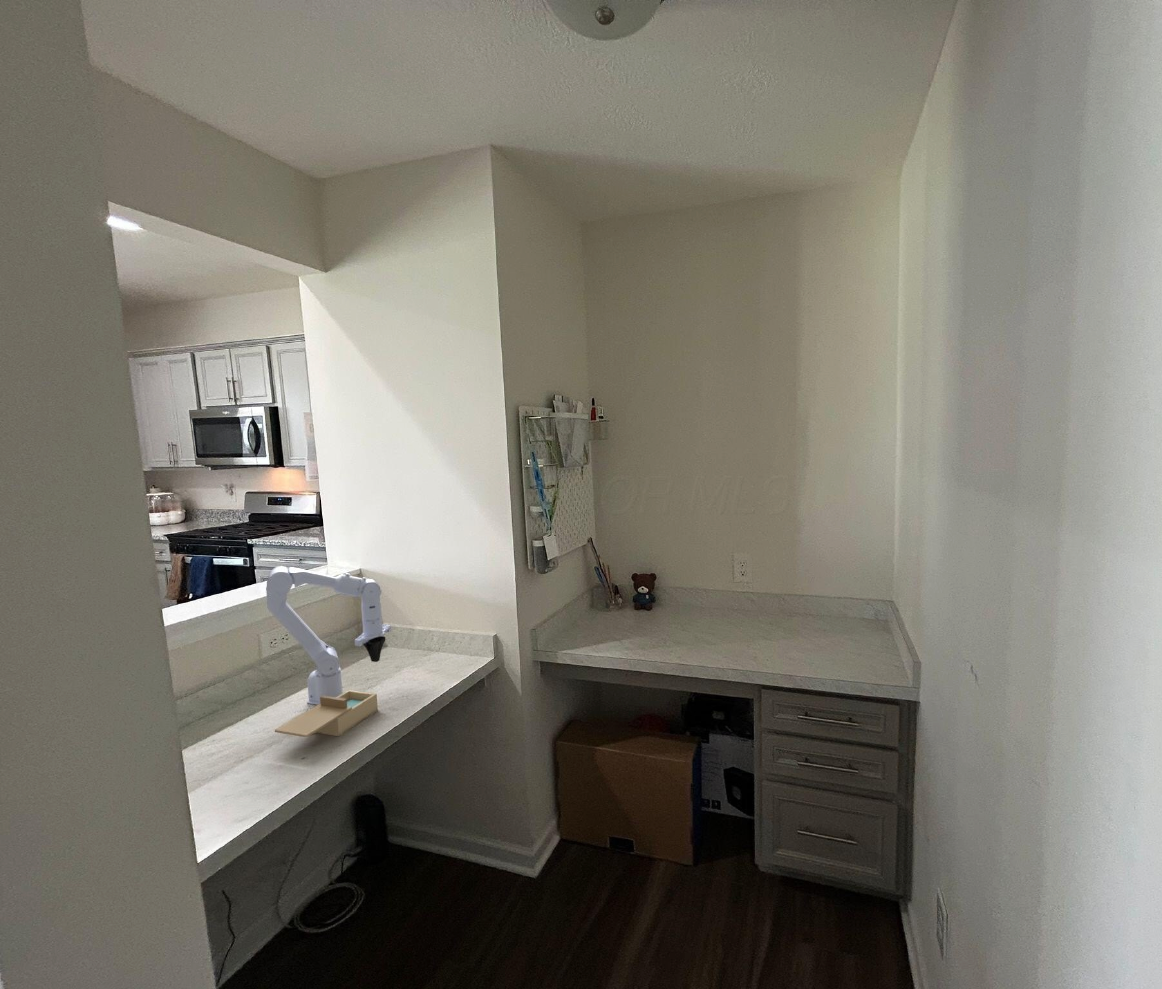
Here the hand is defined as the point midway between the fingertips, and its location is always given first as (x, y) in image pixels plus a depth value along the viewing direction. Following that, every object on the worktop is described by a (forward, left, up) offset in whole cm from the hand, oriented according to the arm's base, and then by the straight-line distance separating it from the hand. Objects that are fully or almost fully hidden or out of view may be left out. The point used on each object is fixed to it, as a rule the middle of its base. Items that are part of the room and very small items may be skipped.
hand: (375, 660), depth 195 cm
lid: (+4, -31, -4) cm, 31 cm away
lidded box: (+4, -20, -10) cm, 22 cm away
